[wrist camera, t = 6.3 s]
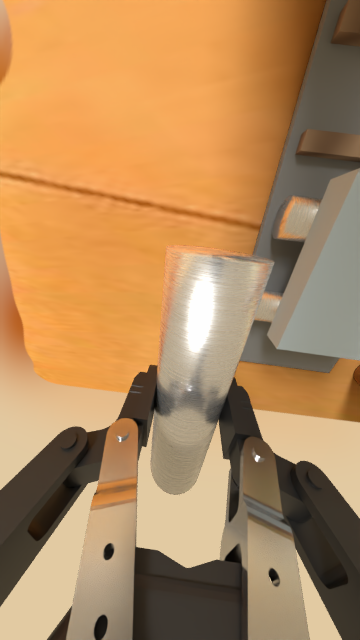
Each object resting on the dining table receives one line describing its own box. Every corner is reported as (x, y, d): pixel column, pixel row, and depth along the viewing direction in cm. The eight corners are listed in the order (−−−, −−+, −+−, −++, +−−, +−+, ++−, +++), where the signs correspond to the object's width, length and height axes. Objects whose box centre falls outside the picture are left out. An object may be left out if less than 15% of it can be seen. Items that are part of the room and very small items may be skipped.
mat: (223, 354, 31) (224, 358, 30) (336, -35, 13) (346, -54, 12) (325, 368, 30) (329, 373, 30) (576, -10, 13) (603, -27, 12)
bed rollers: (245, 312, 26) (253, 324, 22) (281, 198, 19) (300, 191, 16) (353, 326, 25) (379, 342, 22) (426, 217, 19) (479, 213, 16)
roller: (203, 444, 15) (194, 505, 12) (161, 428, 16) (141, 480, 13) (265, 256, 8) (287, 270, 5) (182, 243, 9) (147, 248, 5)
